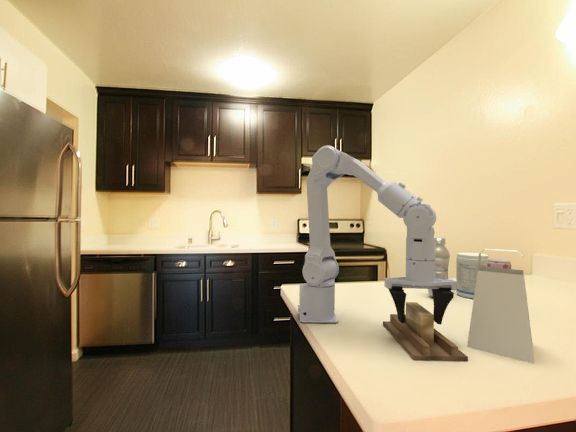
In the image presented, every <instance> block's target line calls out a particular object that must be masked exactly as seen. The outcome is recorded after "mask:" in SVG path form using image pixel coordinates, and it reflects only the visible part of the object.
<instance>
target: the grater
mask: <svg viewBox="0 0 576 432" xmlns="http://www.w3.org/2000/svg"><path fill="white" fill-rule="evenodd" d="M485 250H486V251H498V252H501V251H502V252H515V253H516V252H517V253H518V254H519V255H520V256H521V257H522V258H524V255H523V253H521V252H520V251H519V250H517V249H500V248H484V249H483V251H485ZM479 253H480V254H479V270H478V272H477V279H476V286H475V293H474V299H473V300H472V301H473V302H472V309H471V316H470V323H469V331H468V337H467V344H466V345H467V346H466V347H467V348H470V349H474V350H479V351H482V352H485V353H489V354H494V355H499V356H501V357H502V356H503V357H505V358H510V359H514V360H518V361H522V362H527V363H530V364H534V363H535V361H534V345H533V344H534V343H533V336H532V330H531V329H532V328H531V320H530V314H529V313H530V312H529V304H528V296H527V287H526V282H525V273H524V269H513V268H511V269H504V268H494V267H483V266H482V267H481V254H482V252H479Z"/></svg>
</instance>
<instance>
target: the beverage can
mask: <svg viewBox="0 0 576 432" xmlns="http://www.w3.org/2000/svg"><path fill="white" fill-rule="evenodd" d="M487 267H494V268H504V269H512V264H511V260H510V259H504V258H492V257H491V258H488V261H487Z"/></svg>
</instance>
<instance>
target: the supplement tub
mask: <svg viewBox="0 0 576 432" xmlns="http://www.w3.org/2000/svg"><path fill="white" fill-rule="evenodd" d="M480 253H481V252H463V251H462V252H457V253H456V267H455V268H456V273H455V275H456V277H455V279H456V280H455V281H456V282H457V286H456V290H455V292H456V295H458V296H460V297H463V298H467V299H471V300H474V293H475V286H476V279H477V272H478V270H479V254H480ZM488 259H489V255H488V254H485V253H481V267H482V266H483V267H487V261H488Z"/></svg>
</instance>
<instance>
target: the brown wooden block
mask: <svg viewBox="0 0 576 432" xmlns="http://www.w3.org/2000/svg"><path fill="white" fill-rule="evenodd" d="M405 314H406V325H407V326H408V327H409V328H411V329H412V330H413V331H414V332H415V333H416V334H417V335H418V336H419V337H420V338H422V339H423V340H424V341H425V342H426V343H427V344H428V345H434V329H435V328H434V327H435V321H434V315H433V313H432V312H430V311H429V310H427V308H425V307H424V306H422V305H421V304H419V302H414V301H413V302H411V301H409V302H408V301H405Z"/></svg>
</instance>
